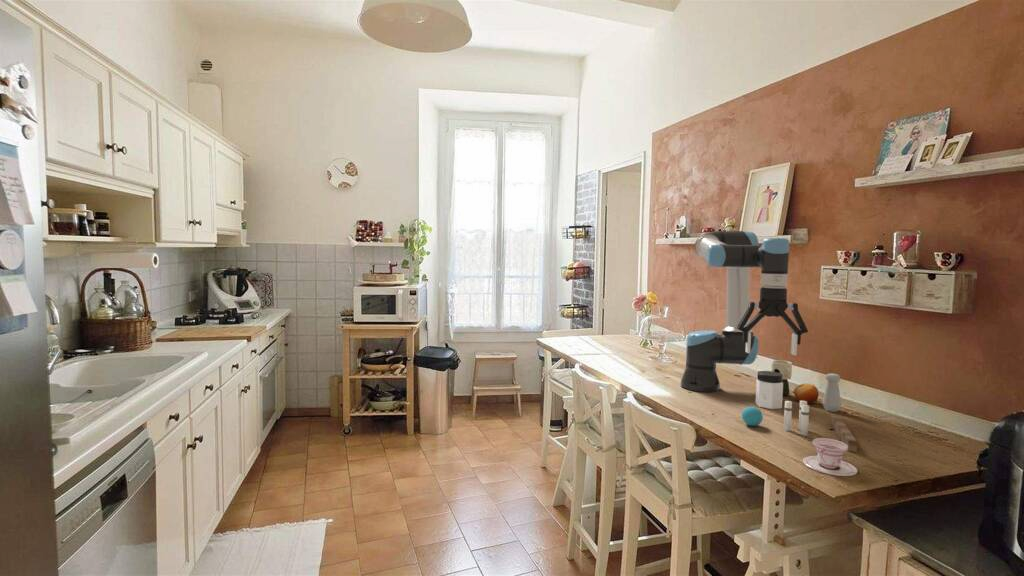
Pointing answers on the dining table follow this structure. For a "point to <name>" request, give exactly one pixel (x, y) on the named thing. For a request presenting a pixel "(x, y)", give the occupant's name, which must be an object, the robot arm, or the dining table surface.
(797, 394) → the fruit
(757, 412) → the teal ball
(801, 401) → the pin
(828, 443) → the teacup
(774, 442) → the dining table surface
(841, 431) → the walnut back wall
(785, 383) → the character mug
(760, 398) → the jar
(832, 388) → the salt shaker
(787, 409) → the front pin
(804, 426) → the pin
